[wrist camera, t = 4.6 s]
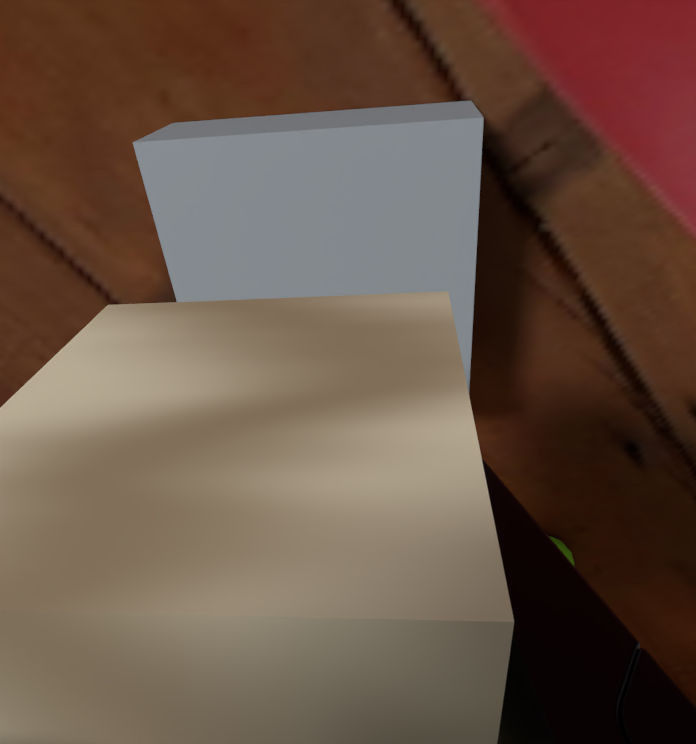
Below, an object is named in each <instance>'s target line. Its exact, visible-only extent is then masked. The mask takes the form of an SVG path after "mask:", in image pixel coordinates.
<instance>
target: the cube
mask: <svg viewBox="0 0 696 744" xmlns="http://www.w3.org/2000/svg"><path fill="white" fill-rule="evenodd" d="M513 628H514V618H513V613H512V608H511V603H510V598H509V593H508V588H507V583H506V578H505V573H504V568H503V563H502V558H501V553H500V548H499V543H498V538H497V533H496V528H495V523H494V518H493V513H492V508H491V503H490V498H489V493H488V488H487V483H486V478H485V473H484V468H483V463H482V458H481V453H480V448H479V443H478V438H477V433H476V428H475V423H474V418H473V413H472V408H471V403H470V398H469V393H468V388H467V383H466V378H465V373H464V368H463V363H462V358H461V353H460V348H459V343H458V338H457V333H456V328H455V323H454V318H453V313H452V308H451V303H450V298H449V293H448V291H443V292H418V293H394V294H369V295H344V296H319V297H295V298H270V299H245V300H220V301H196V302H171V303H146V304H121V305H107V306H106V307H105V308H104V309H103V310H102V311H101V312H100V313H99V314H98V315H97V316H96V317H95V318H94V319H93V320H92V321H91V322H90V323H89V324H88V325H86V326H85V327H84V328H83V329H82V330H81V331H80V332H79V333H78V334H77V335H76V336H75V337H74V338H73V339H72V340H71V341H70V342H69V343H68V344H67V345H66V346H65V347H63V348H62V349H61V350H60V351H59V352H58V353H57V354H56V355H55V356H54V357H53V358H52V359H51V360H50V361H49V362H48V363H47V364H46V365H45V366H44V367H43V368H41V369H40V370H39V371H38V372H37V373H36V374H35V375H34V376H33V377H32V378H31V379H30V380H29V381H28V382H27V383H26V384H25V385H24V386H23V387H22V388H21V389H20V390H18V391H17V392H16V393H15V394H14V395H13V396H12V397H11V398H10V399H9V400H8V401H7V402H6V403H5V404H4V405H3V406H2V407H1V408H0V744H497V741H498V734H499V727H500V720H501V713H502V706H503V699H504V692H505V684H506V677H507V670H508V663H509V656H510V649H511V642H512V635H513Z"/></svg>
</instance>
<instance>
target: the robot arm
mask: <svg viewBox="0 0 696 744" xmlns="http://www.w3.org/2000/svg"><path fill="white" fill-rule="evenodd" d="M482 463H483V468H484V473H485V478H486V483H487V488H488V493H489V498H490V503H491V508H492V513H493V518H494V523H495V528H496V533H497V538H498V543H499V548H500V553H501V558H502V563H503V568H504V573H505V578H506V583H507V588H508V593H509V598H510V603H511V608H512V613H513V618H514V628H513V635H512V642H511V649H510V656H509V663H508V670H507V677H506V684H505V692H504V699H503V706H502V713H501V720H500V727H499V734H498V741H497V744H696V707H695V706H694V704H693V703H692V702H691V701H690V700H689V699H688V698H687V697H686V695H685V694H684V693H683V692H682V691H681V690H680V689H679V688H678V686H677V685H676V684H675V683H674V682H673V681H672V680H671V679H670V678H669V676H668V675H667V674H666V673H665V672H664V670H663V669H662V668H661V667H660V666H659V665H658V663H657V662H656V661H655V660H654V659H653V657H652V656H651V655H650V654H649V653H648V652H647V650H646V649H644V648H640V649H639V646H640V644H639V642H638V640H637V639H636V638H635V637H634V636H633V634H632V633H631V632H630V631H629V630H628V629H627V627H626V626H625V625H624V624H623V623H622V622H621V620H620V619H619V618H618V617H617V616H616V615H615V613H614V612H613V611H612V610H611V609H610V607H609V606H608V605H607V604H606V603H605V602H604V600H603V599H602V598H601V597H600V596H599V595H598V593H597V592H596V591H595V590H594V589H593V588H592V586H591V585H590V584H589V583H588V582H587V581H586V579H585V578H584V577H583V576H582V575H581V574H580V572H579V571H578V570H577V569H576V568H575V567H574V565H573V564H572V563H571V562H570V561H569V559H568V558H567V557H566V556H565V555H564V554H563V552H562V551H561V550H560V549H559V548H558V547H557V545H556V544H555V543H554V542H553V541H552V540H551V538H550V537H549V536H548V535H547V534H546V533H545V531H544V530H543V529H542V528H541V527H540V526H539V524H538V523H537V522H536V521H535V520H534V519H533V517H532V516H531V515H530V514H529V513H528V511H527V510H526V509H525V508H524V507H523V506H522V504H521V503H520V502H519V501H518V500H517V499H516V497H515V496H514V495H513V494H512V493H511V492H510V490H509V489H508V488H507V487H506V486H505V485H504V483H503V482H502V481H501V480H500V479H499V478H498V476H497V475H496V474H495V473H494V472H493V471H492V469H491V468H490V467H489V466H488V465H487V463H486V462H485V461H484V460H483V459H482Z"/></svg>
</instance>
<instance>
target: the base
mask: <svg viewBox="0 0 696 744" xmlns="http://www.w3.org/2000/svg"><path fill="white" fill-rule="evenodd" d="M483 122H484V117H483V116H482V114H481V113H480V112H479V110H478V109H477V108H476V106H475V105H474V104H473V102H472V101H460V102H446V103H433V104H419V105H406V106H393V107H379V108H366V109H353V110H339V111H326V112H312V113H299V114H286V115H272V116H259V117H246V118H232V119H219V120H205V121H192V122H179V123H172V124H170V125H168V126H166V127H164V128H162V129H159V130H157V131H155V132H153V133H151V134H149V135H147V136H145V137H143V138H141V139H139V140H137V141H135V142H133V146H134V149H135V153H136V156H137V160H138V164H139V167H140V171H141V174H142V178H143V182H144V185H145V189H146V192H147V196H148V200H149V203H150V207H151V210H152V214H153V218H154V221H155V225H156V228H157V232H158V236H159V239H160V243H161V246H162V250H163V254H164V257H165V261H166V264H167V268H168V272H169V275H170V279H171V282H172V286H173V290H174V293H175V297H176V300H177V302H196V301H220V300H245V299H270V298H295V297H319V296H344V295H369V294H394V293H418V292H443V291H448V293H449V298H450V303H451V308H452V313H453V318H454V323H455V328H456V333H457V338H458V343H459V348H460V353H461V358H462V363H463V368H464V373H465V378H466V383H467V388H468V393H469V386H470V367H471V349H472V330H473V311H474V292H475V273H476V254H477V235H478V216H479V198H480V179H481V160H482V141H483Z"/></svg>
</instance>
